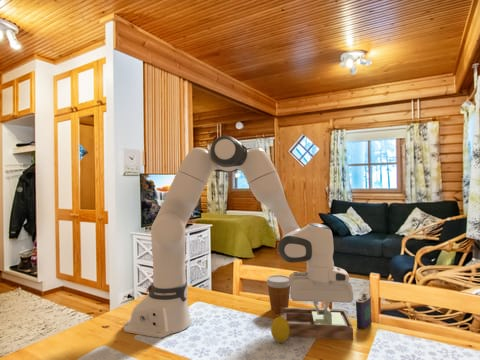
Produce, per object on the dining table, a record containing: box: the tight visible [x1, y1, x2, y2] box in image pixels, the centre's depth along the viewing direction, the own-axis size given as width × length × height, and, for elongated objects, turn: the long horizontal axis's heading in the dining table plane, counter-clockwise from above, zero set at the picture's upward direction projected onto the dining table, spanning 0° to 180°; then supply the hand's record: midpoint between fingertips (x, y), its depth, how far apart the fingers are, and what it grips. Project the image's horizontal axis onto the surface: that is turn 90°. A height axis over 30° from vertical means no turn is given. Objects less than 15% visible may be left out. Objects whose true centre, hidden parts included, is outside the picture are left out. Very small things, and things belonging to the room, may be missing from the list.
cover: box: [312, 304, 346, 326], centre depth 100 cm, size 10×10×4 cm
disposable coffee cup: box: [265, 274, 291, 315], centre depth 115 cm, size 10×10×12 cm
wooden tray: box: [280, 307, 354, 341], centre depth 101 cm, size 22×14×4 cm, turn 82°
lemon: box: [270, 315, 290, 344], centre depth 91 cm, size 6×6×8 cm
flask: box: [355, 292, 372, 331], centre depth 102 cm, size 9×3×11 cm, turn 138°
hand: (321, 314), depth 101 cm, fingers closed
